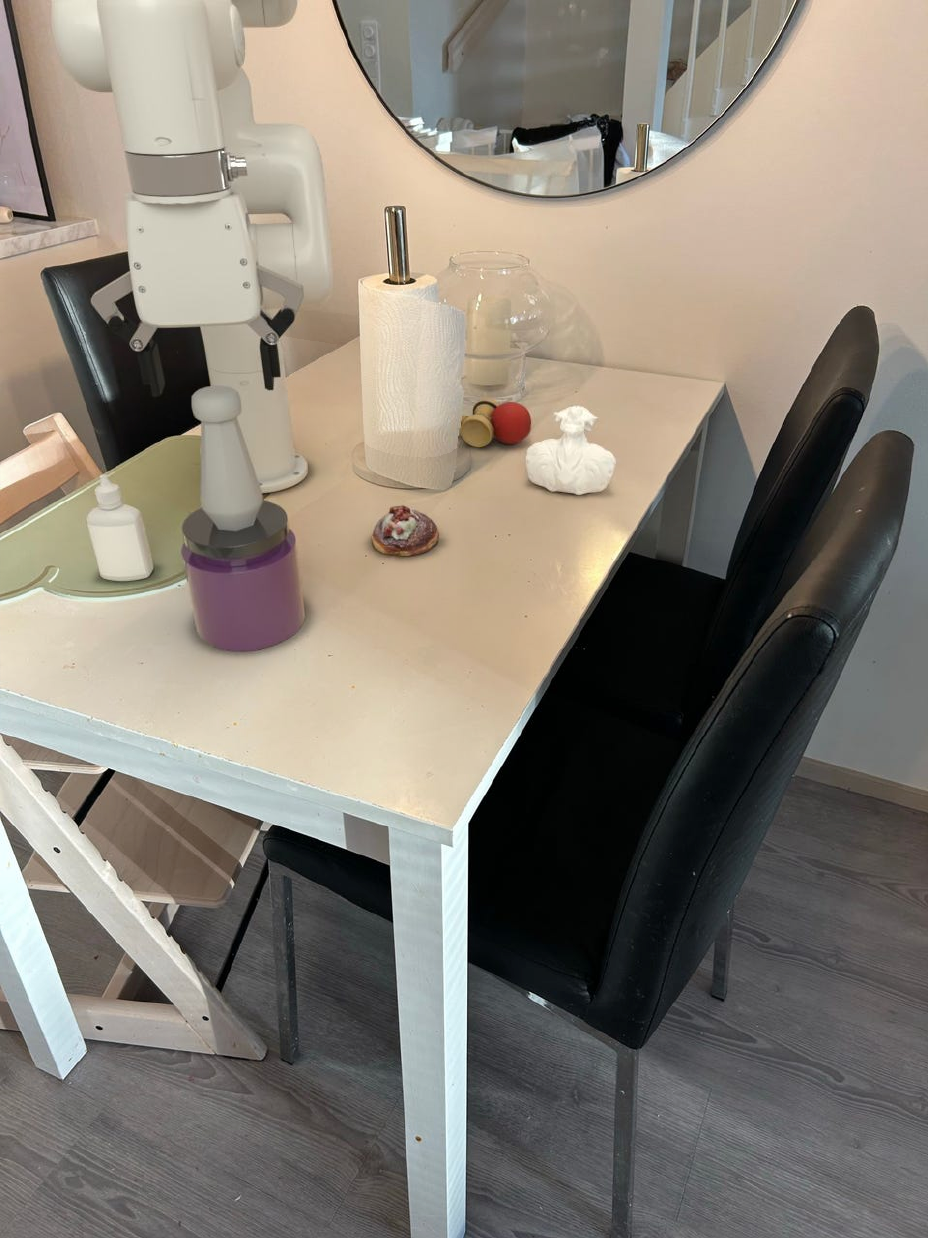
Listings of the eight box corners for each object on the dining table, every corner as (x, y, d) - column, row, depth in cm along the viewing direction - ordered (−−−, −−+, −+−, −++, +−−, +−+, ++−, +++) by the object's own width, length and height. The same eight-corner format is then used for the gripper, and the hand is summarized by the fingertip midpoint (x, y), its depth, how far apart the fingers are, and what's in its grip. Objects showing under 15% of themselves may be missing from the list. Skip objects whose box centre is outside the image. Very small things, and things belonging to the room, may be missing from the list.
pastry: (374, 560, 103) (371, 521, 100) (369, 529, 109) (366, 491, 106) (443, 554, 104) (442, 515, 101) (434, 524, 110) (433, 487, 107)
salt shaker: (251, 538, 83) (231, 403, 76) (194, 532, 84) (168, 399, 77) (274, 510, 88) (257, 381, 81) (220, 505, 89) (198, 377, 82)
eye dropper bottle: (132, 589, 98) (107, 489, 91) (94, 577, 100) (67, 478, 93) (160, 571, 101) (138, 473, 94) (123, 559, 103) (99, 463, 96)
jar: (174, 637, 90) (151, 537, 84) (235, 584, 99) (219, 489, 92) (269, 661, 87) (253, 558, 80) (324, 603, 95) (313, 506, 89)
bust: (612, 505, 119) (627, 422, 120) (608, 492, 112) (623, 404, 112) (525, 493, 122) (539, 413, 123) (515, 480, 115) (530, 394, 115)
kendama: (406, 451, 132) (525, 448, 126) (401, 408, 129) (522, 403, 124) (423, 441, 138) (537, 437, 133) (419, 399, 136) (535, 394, 131)
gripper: (292, 164, 74) (312, 368, 84) (73, 170, 72) (120, 378, 81) (292, 180, 68) (313, 398, 77) (52, 186, 66) (106, 409, 75)
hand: (214, 387), depth 79 cm, fingers open, 9 cm apart
